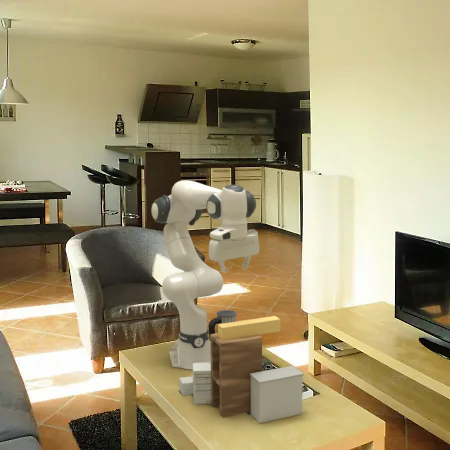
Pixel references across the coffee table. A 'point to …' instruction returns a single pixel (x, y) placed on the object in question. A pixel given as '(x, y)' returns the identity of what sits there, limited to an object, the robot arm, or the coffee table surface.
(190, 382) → the small box
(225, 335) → the ochre box
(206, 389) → the white drawer cabinet
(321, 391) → the coffee table surface
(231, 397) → the walnut shelf
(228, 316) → the milk frother
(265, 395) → the grey box
